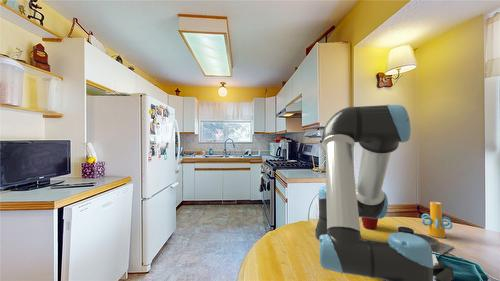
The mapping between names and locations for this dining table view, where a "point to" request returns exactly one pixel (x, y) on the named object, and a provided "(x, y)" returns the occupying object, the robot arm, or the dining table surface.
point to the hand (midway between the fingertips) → (406, 251)
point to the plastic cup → (369, 223)
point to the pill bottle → (406, 230)
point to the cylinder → (436, 221)
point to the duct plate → (435, 244)
